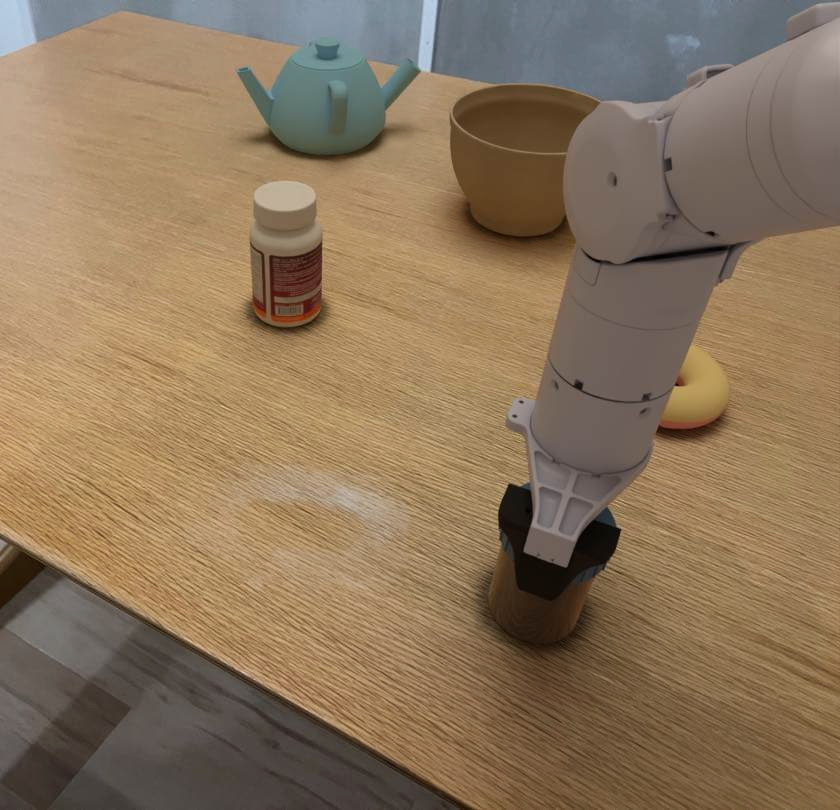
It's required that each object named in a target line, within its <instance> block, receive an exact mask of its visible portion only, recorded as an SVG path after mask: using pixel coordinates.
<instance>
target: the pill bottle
mask: <svg viewBox="0 0 840 810" xmlns="http://www.w3.org/2000/svg"><path fill="white" fill-rule="evenodd" d="M252 198H253V199H252V203H253V204H252V205H253V208H252V209H253V211H252V213H253V218H254V220H253V221H252V223H251V224H250V227H249V237H248V238H249V253H250V272H251V274H250V275H251V290H252V291H251V292H252V293H251V294H252V305H253V306H252V307H253V311H254V313H255V315H256V316H257V317H258V319H260V320H261V321H262V322H264V323H266V324H268V325H270V326H273V327H278V328H294V327H300V326H302V325H306V324H308V323H310V322H311V321H313V320H314V319H315V318H316V317H318V316H319V314H320V312H321V310H322V309H321V308H322V302H323V300H322V299H323V298H322V297H323V293H322V292H323V290H322V288H323V239H324V238H323V227H322V224H321V223H320V221H319V220H318V219H317V212H318V209H317V194H316V191H315V190H314V189H313V188H312V187H311V186H309V185H308V184H306V183H304V182H299V181H294V180H278V181H277V180H276V181H272V182H267V183H265V184H263V185H261V186H259V187H258V188H256V190H255V191H254V193H253V197H252Z"/></svg>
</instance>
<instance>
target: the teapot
mask: <svg viewBox="0 0 840 810" xmlns="http://www.w3.org/2000/svg"><path fill="white" fill-rule="evenodd" d="M235 72H236V74H237V75H238V77H239V79H240V81H241V82H242V84H243V86H244V87H245V89H246V91H247V93H248V94H249V96H250V98H251V100H252V101H253V103H254V105H255V107H256V108H257V110H258V111H259V114H260V115H261V117H262V118H263V120H264V122H265V123H266V125H267V126H268V128H269V130H270V131H271V132H272V134H273V135H274V136H275V137H276V138H277V140H279V141H280V143H282V144H283V145H284V146H285V147H287V148H288V149H291V150H293V151H296V152H299V153H303V154H307V155H315V156H338V155H344V154H350V153H353V152H357V151H360V150H362V149H364V148H365V147H367V146H368V145H370V143H372V142H373V141H374V140H375V139H376V138H377V137H378V136H379V135H380V133H381V132H382V131H383V129H384V128H385V124H386V120H387V119H386V117H387V113H386V111H388V109H389V108H390V107H391V106H392V104H393V103H394V102H395V101H396V100H397V99H398V98H399V97H400V96H401V95H402V94H403V92H404V91H405V90H406V89H407V88H408V87H409V86H410V84H411V83H412V82H414V80H415V79H416V78H417V77H418V76H419V75H420V73H422V69H421V68H420V67H419V66H418V64H416V63H415V62H414V61H413V60H412V59H411V58H409V57H405V59H404V60H403V61H402V63H401V64H399V66H398V68H396V70H395V71H394V72H393V74H392V75H391V76H390V77H389V78H388V79H387V81H386V82H385V83H384V84H383V85H382V87H381V85H380V82H379V81H378V78H377V76H376V74H375V72H374V70H373V68H372V66H371V64H370V63H369V61H368V60H367V59H366V57H365V55H364V54H363V53H362V52H360V51H359V50H358V49H356V48H353V47H350V46H346V45H343V44H341V41H340V40H339V39H338V38H336V37H332V36H323V37H319V38H317V39H314V40H312V41H310V42H309V45H307V46H303V47H300V48H298V49H296V50H294V51H293V52H292V53H291V54H290V55H289V56H288V58H287V60H286V61H285V63H284V64H283V66H282V68H281V69H280V71H279V72H278V75H277V76H276V79H275V81H274V83H273V84H272V86H271V89H266V87H264V85H263V84H262V82H261V81H260V80H259V79H258V77H257V76H256V75H255V73H254V72H253V70H252V68H251V65H247V66H242V67H236V68H235Z"/></svg>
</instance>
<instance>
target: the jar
mask: <svg viewBox="0 0 840 810" xmlns="http://www.w3.org/2000/svg"><path fill="white" fill-rule="evenodd" d="M499 547H500V548H499V550H498V555H497V559H496V563H495V567H494V570H493V575H492V579H491V582H490V586H489V589H488V594H487V595H488V596H487V601H488V607H489V611H490V613H491V615H492V617H493V619H494V620H495V622H496V623H497V624H498V625H499V627H500V628H502V629H503V630H504V631H505V632H507V633H508V634H509V635H512V636H513V637H515V638H517V640H521V641H524V642H527V643H530V644H531V643H532V644H537V645H539V644H541V645H542V644H543V645H545V644H553V643H555V642H558V641H561V640H562V639H564V638H566V637H567V636H568V635H570V634H571V632H573V630H574V629H575V626H576V625H577V622H578V619H579V617H580V616H581V612H582V610H583V607H584V604H585V602H586V599H587V598H588V594H589V592H590V590H591V587H592V584H593V582H594V580H595V578H591V579H589V580H587V581H584V582H583V583H576V584H569V586H568V587H567V588H566V589H565V590H564V592H563V593H562V594H561V595H560V596H559V597H558V598H557V599H555V600H554V601H548V600H546V599H543V598H540V597H538V596H535V595H533V594H530V593H527V592H525V591H522V590H520V589H518V587H517V584H516V578H515V567H514V562H512V560H511V559H510V558H509V557H508V555H507V554H506V552H504V548H503V546H502V544H501V543H500V546H499Z"/></svg>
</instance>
